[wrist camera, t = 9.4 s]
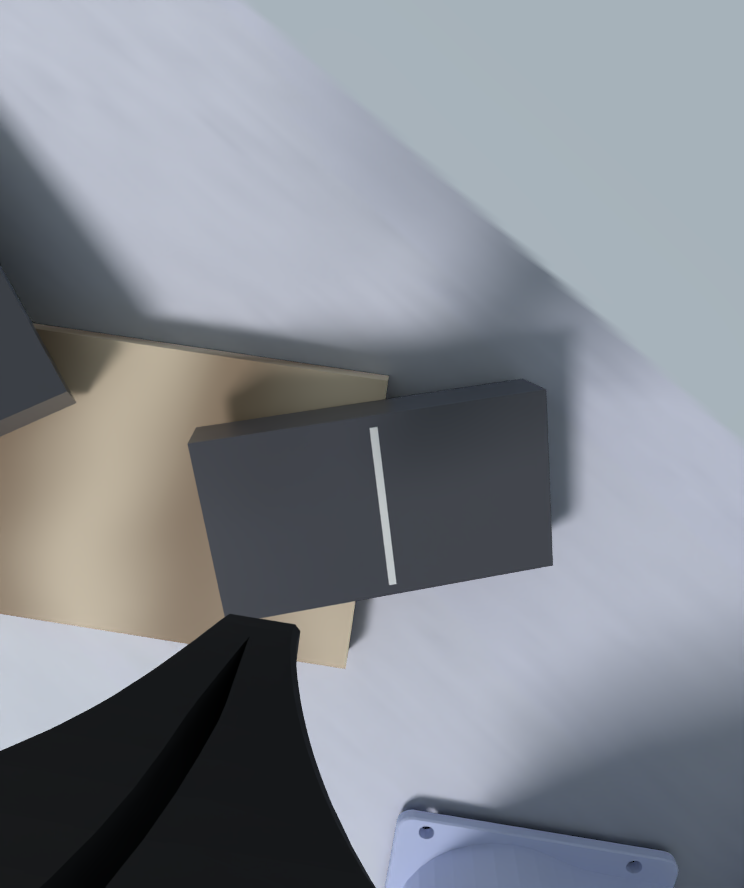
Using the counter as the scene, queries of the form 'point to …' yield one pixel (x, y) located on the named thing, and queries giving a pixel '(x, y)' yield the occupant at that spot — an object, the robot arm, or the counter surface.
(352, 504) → the domino
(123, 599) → the board
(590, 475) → the counter surface
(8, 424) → the domino
